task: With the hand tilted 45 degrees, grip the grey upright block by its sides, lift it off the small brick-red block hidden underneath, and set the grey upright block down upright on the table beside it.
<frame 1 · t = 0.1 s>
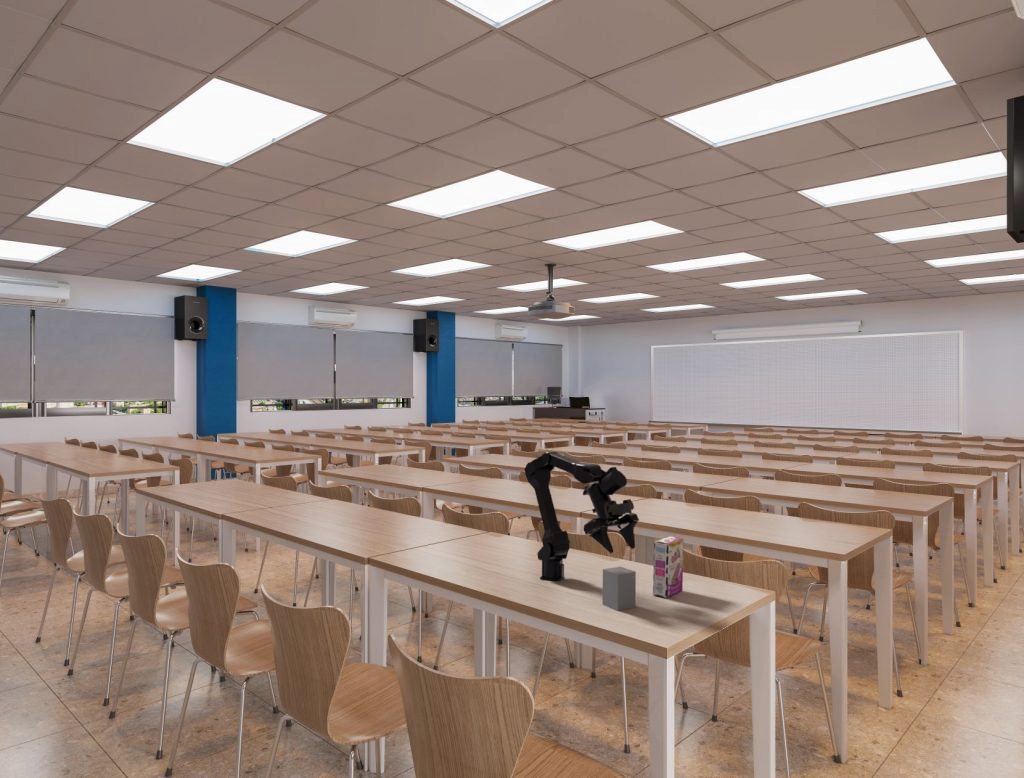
hand: (622, 550, 187), 15 cm above the table, tool tilted 35°, fingers open, 9 cm apart
candy bar box: (668, 593, 195), on the table
red block: (618, 606, 182), on the table
grey upright block: (618, 605, 182), on the table
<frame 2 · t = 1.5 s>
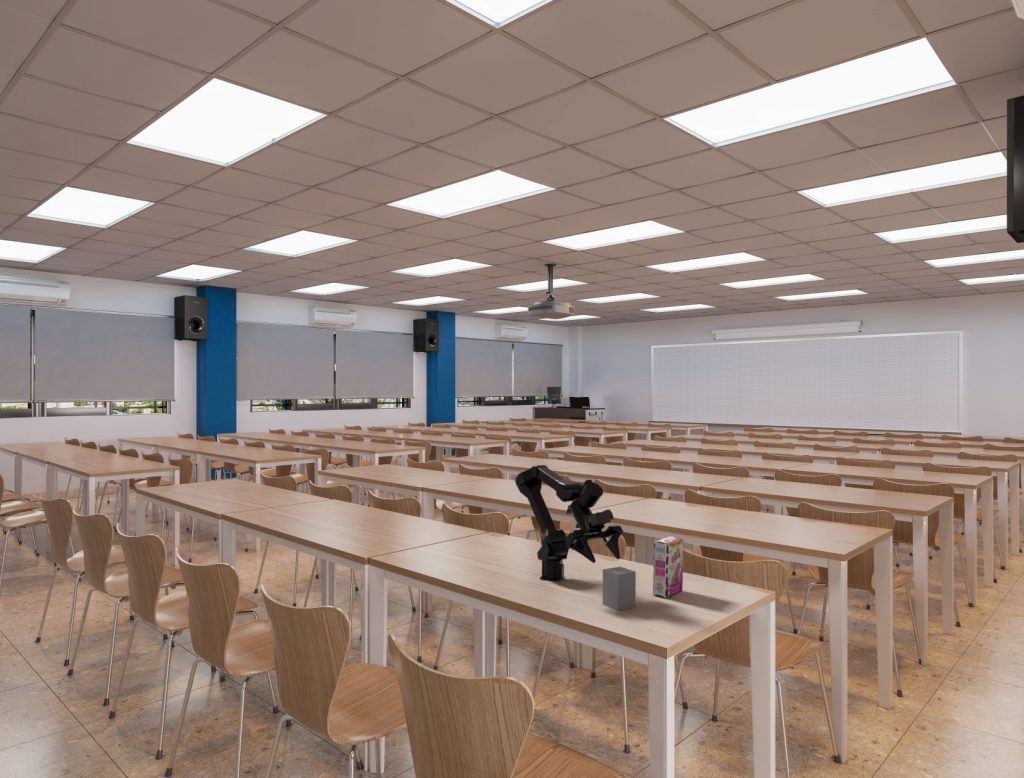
hand: (607, 560, 187), 12 cm above the table, tool tilted 45°, fingers open, 9 cm apart
nothing on the table moved.
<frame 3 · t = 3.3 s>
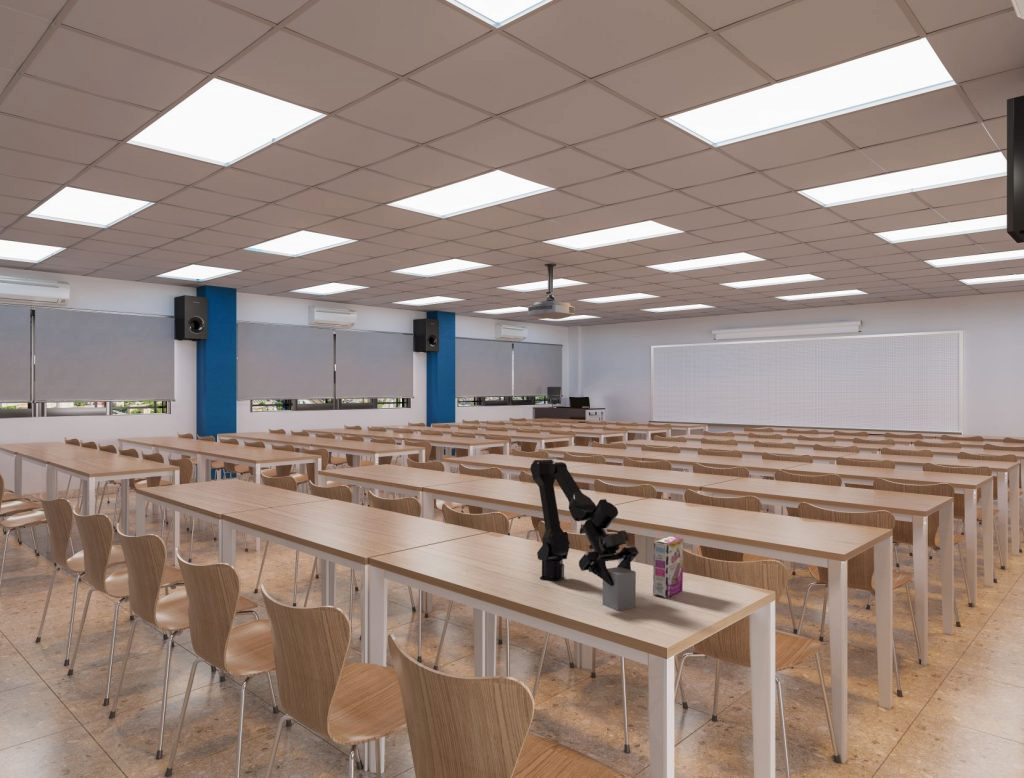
hand: (622, 583, 181), 7 cm above the table, tool tilted 45°, fingers closed on grey upright block, 7 cm apart
grey upright block: (618, 605, 182), on the table, touching gripper
everything else where it was.
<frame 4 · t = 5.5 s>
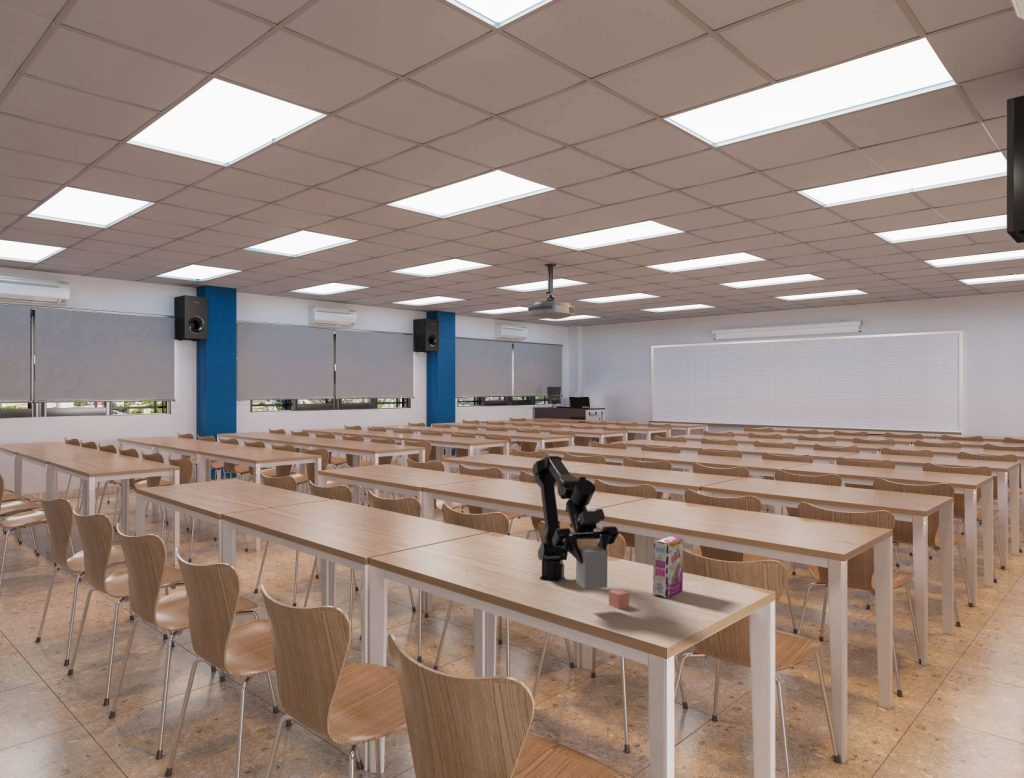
hand: (593, 562, 178), 13 cm above the table, tool tilted 45°, fingers closed on grey upright block, 7 cm apart
grey upright block: (591, 584, 179), point 7 cm above the table, touching gripper
everything else where it was.
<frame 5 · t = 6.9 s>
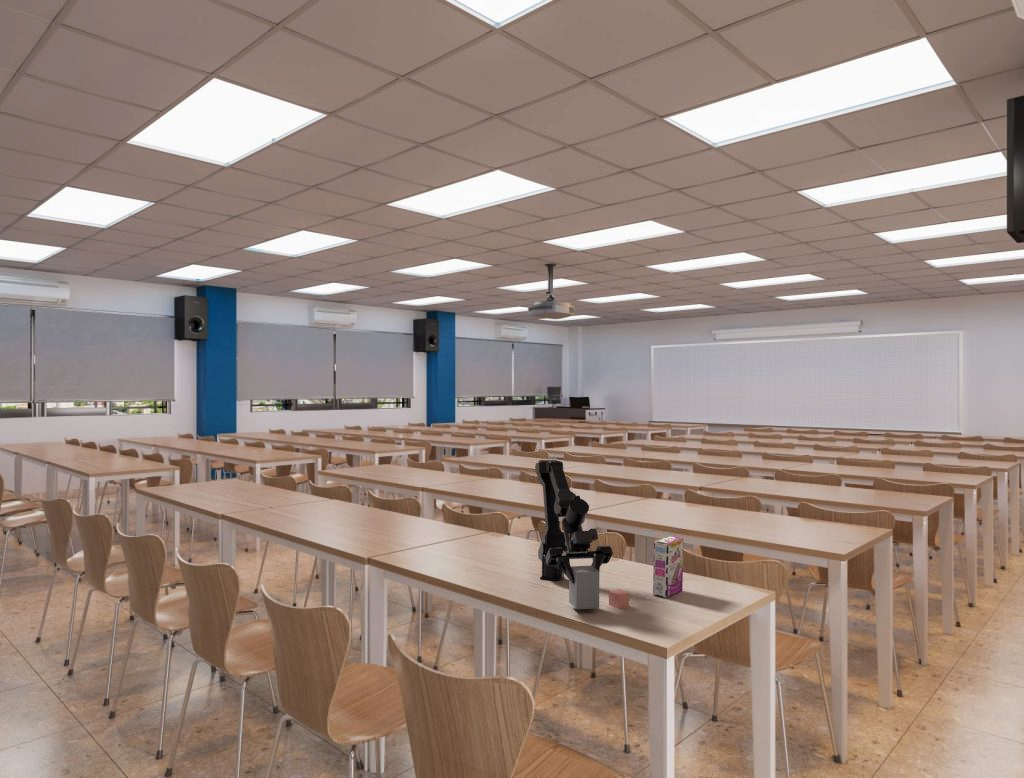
hand: (585, 582, 177), 8 cm above the table, tool tilted 45°, fingers closed on grey upright block, 7 cm apart
grey upright block: (583, 604, 178), point 1 cm above the table, touching gripper
everything else where it was.
when the fingers open (8 cm above the table, at t = 7.7 s): grey upright block drops 1 cm, on the table.
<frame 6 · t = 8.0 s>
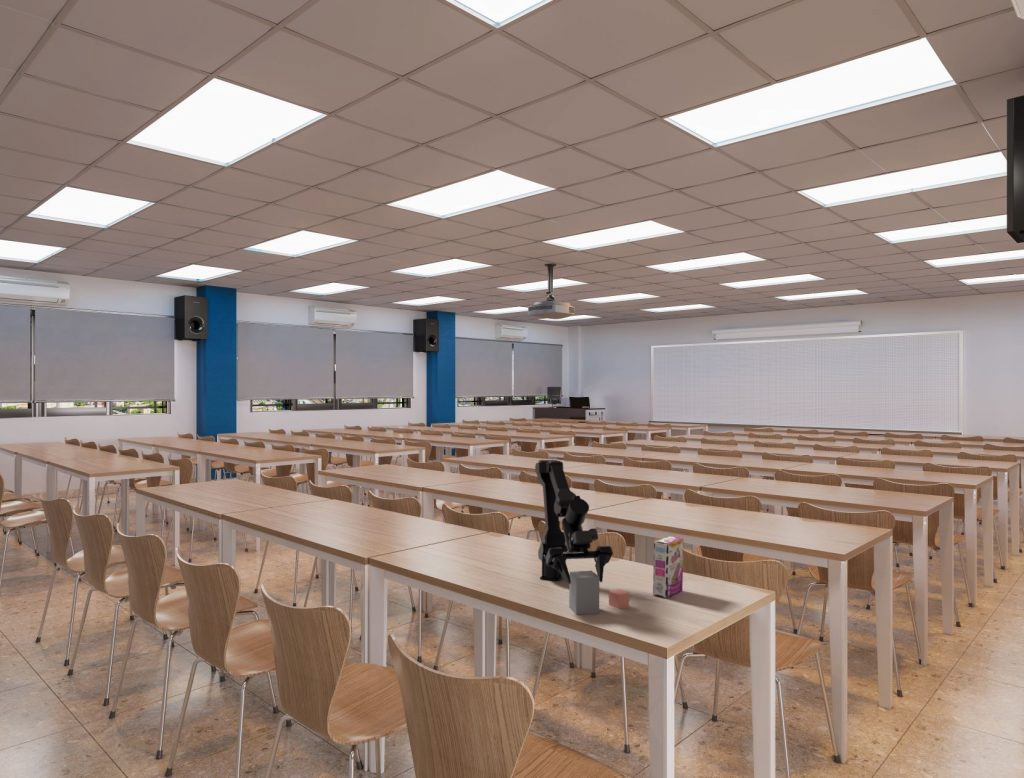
hand: (585, 582, 177), 8 cm above the table, tool tilted 45°, fingers open, 9 cm apart
grey upright block: (584, 610, 178), on the table
everything else where it was.
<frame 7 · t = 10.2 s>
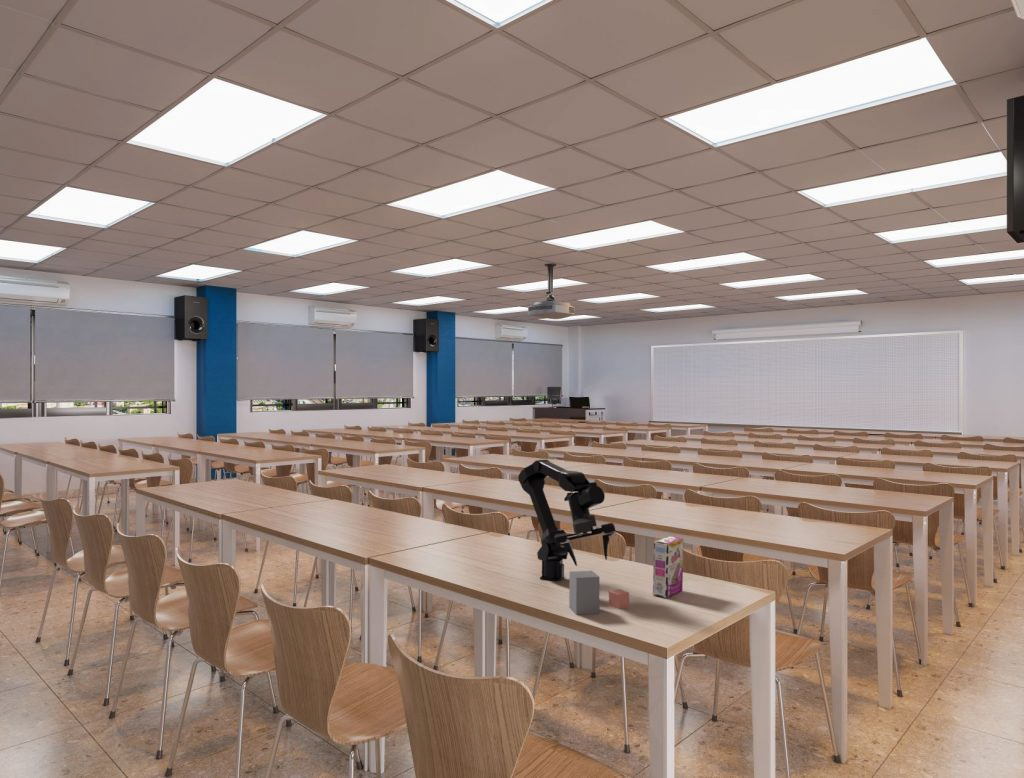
hand: (591, 562, 193), 10 cm above the table, tool tilted 20°, fingers open, 9 cm apart
nothing on the table moved.
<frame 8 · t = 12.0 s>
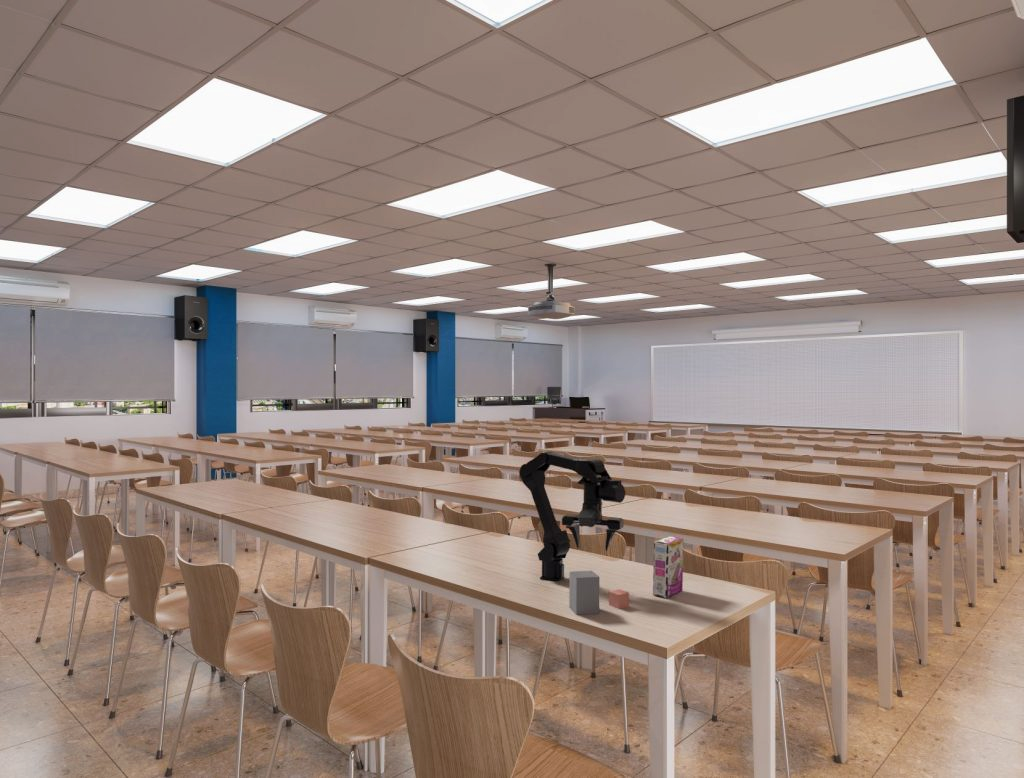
hand: (592, 549, 201), 12 cm above the table, tool pointing down, fingers open, 9 cm apart
nothing on the table moved.
at the end: grey upright block inside the target area (0.5 cm from its centre), on the table; grey upright block tilted 0°; the gripper is holding nothing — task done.
